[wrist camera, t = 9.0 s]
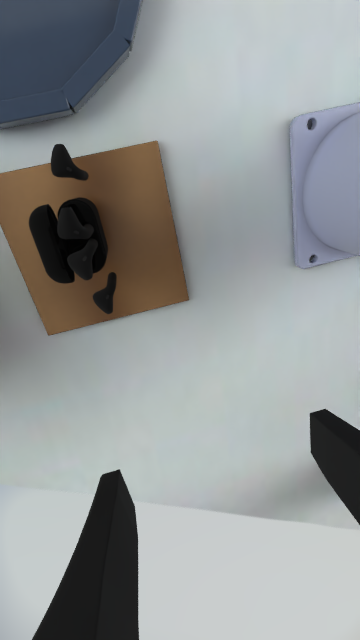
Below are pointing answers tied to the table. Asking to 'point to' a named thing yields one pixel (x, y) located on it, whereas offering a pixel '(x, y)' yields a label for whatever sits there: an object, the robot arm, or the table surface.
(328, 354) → the table surface
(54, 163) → the wireless earbuds
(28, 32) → the plate
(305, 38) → the table surface
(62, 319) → the cork coaster
